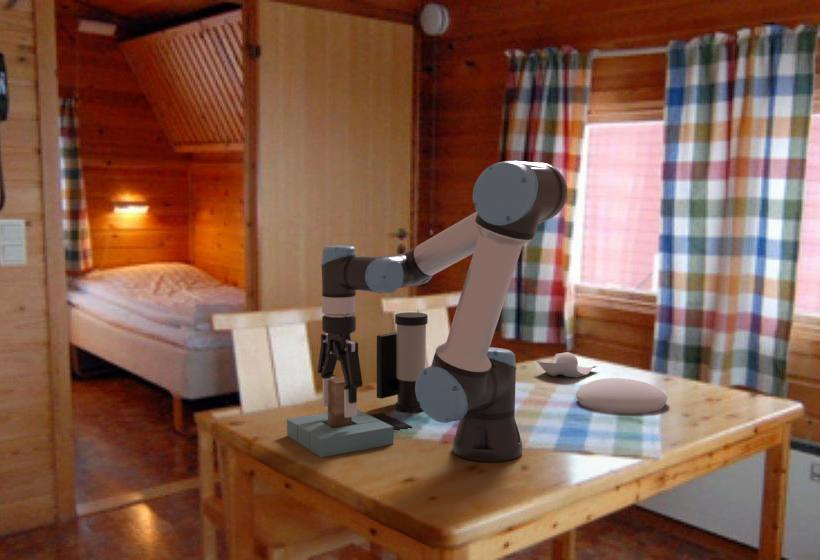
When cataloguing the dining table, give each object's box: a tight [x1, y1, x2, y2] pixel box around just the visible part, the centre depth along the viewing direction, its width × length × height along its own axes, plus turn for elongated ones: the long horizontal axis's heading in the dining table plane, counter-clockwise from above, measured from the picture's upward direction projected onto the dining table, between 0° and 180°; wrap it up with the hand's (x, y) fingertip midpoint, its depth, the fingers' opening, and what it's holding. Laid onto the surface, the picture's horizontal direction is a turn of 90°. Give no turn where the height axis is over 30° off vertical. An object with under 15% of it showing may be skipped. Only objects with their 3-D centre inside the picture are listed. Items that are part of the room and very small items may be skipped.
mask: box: [536, 351, 598, 378], centre depth 260 cm, size 20×8×15 cm
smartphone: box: [369, 412, 413, 431], centre depth 206 cm, size 7×1×15 cm
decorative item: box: [575, 377, 668, 414], centre depth 225 cm, size 24×7×20 cm
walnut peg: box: [327, 376, 352, 428], centre depth 191 cm, size 4×4×14 cm
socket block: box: [286, 408, 395, 458], centre depth 192 cm, size 18×18×4 cm
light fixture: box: [376, 311, 429, 414], centre depth 219 cm, size 12×11×25 cm
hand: (339, 410), depth 191 cm, fingers open, 10 cm apart
